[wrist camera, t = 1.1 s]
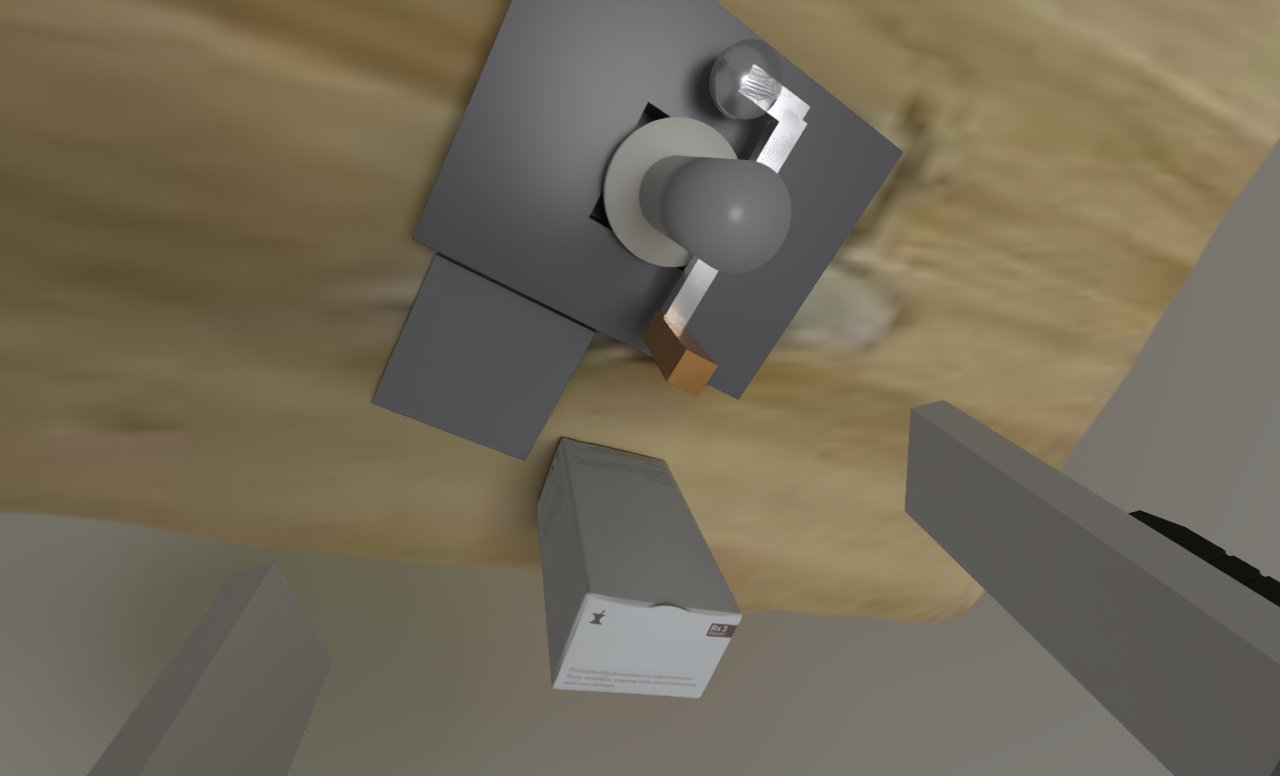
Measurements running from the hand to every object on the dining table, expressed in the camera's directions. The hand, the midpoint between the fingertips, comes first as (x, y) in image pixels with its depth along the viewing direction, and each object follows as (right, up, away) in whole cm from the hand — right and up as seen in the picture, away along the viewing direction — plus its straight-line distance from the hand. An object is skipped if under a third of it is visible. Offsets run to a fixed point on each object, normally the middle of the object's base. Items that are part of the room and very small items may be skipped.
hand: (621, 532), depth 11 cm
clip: (+3, +12, +14) cm, 19 cm away
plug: (+1, +14, +19) cm, 24 cm away
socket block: (+1, +14, +20) cm, 24 cm away
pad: (-9, +4, +22) cm, 24 cm away
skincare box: (-2, -3, +27) cm, 28 cm away
